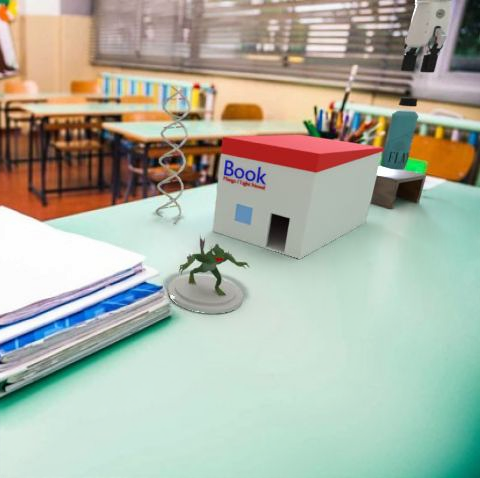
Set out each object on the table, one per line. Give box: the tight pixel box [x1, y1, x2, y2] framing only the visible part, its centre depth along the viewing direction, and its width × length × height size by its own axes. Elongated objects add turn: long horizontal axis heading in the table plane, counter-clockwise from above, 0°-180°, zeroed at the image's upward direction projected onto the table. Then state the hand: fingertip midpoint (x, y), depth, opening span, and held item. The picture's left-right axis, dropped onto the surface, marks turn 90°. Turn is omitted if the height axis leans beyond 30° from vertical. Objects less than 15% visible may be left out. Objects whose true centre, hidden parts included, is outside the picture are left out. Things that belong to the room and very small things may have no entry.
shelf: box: [370, 165, 427, 210], centre depth 137 cm, size 12×14×8 cm
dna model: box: [155, 85, 192, 225], centre depth 109 cm, size 7×6×30 cm
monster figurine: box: [167, 235, 250, 314], centre depth 79 cm, size 12×12×10 cm
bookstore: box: [212, 134, 385, 260], centre depth 110 cm, size 21×35×21 cm, turn 135°
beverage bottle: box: [380, 96, 419, 170], centre depth 132 cm, size 6×7×20 cm
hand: (416, 71), depth 126 cm, fingers open, 9 cm apart
